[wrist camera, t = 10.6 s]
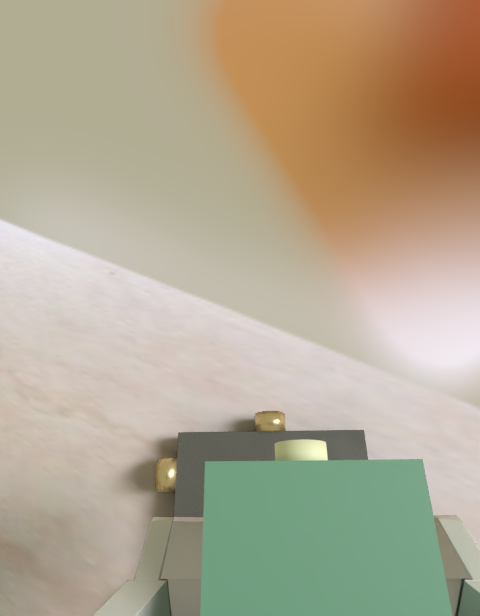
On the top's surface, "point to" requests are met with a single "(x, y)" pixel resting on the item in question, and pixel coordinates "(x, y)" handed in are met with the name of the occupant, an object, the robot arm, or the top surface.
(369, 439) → the top surface
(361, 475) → the block
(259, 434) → the level base plate
